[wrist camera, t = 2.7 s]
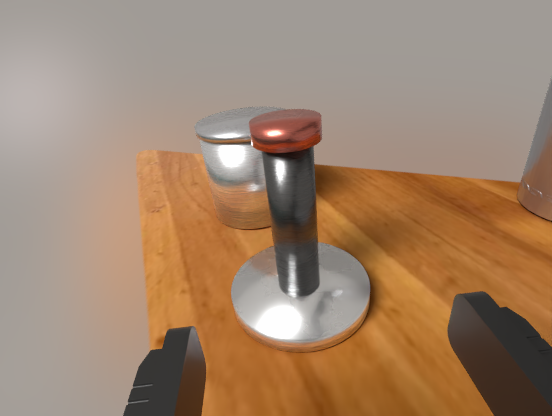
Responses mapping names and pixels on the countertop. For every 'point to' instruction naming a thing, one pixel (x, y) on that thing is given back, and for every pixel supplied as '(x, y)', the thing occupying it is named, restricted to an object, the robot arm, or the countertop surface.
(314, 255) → the lid
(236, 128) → the pot
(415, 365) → the countertop surface
